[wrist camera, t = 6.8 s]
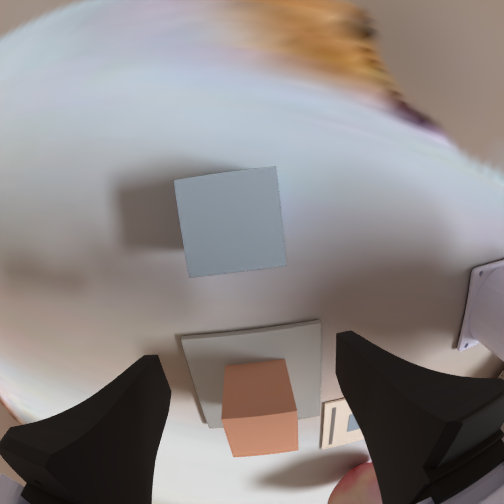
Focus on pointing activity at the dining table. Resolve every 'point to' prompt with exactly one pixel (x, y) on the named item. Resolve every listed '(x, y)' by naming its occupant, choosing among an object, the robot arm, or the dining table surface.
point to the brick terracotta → (259, 409)
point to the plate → (251, 351)
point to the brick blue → (231, 221)
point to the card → (339, 425)
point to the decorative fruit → (357, 487)
